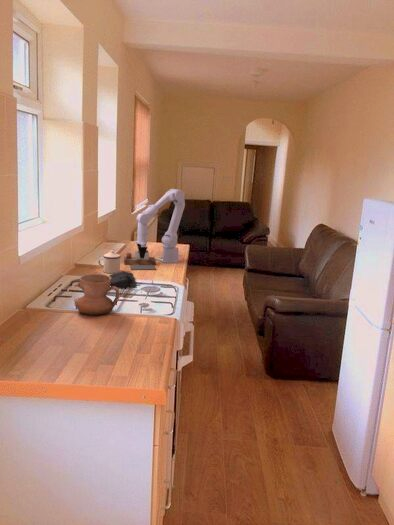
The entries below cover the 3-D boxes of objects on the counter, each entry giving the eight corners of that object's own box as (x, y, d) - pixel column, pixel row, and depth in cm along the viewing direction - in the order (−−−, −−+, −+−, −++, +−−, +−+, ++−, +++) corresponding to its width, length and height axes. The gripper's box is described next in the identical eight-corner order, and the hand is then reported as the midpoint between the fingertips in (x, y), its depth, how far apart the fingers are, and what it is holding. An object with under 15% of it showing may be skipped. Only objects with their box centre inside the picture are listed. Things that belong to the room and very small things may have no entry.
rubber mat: (154, 266, 261) (154, 265, 260) (156, 270, 252) (156, 269, 252) (130, 266, 258) (130, 265, 258) (131, 269, 249) (131, 268, 249)
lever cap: (147, 257, 268) (148, 249, 267) (148, 259, 264) (149, 251, 263) (134, 257, 267) (134, 249, 266) (135, 259, 262) (135, 251, 261)
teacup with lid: (122, 270, 247) (122, 249, 244) (118, 274, 238) (118, 252, 235) (100, 268, 248) (100, 248, 245) (95, 272, 239) (96, 251, 236)
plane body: (154, 262, 271) (154, 252, 270) (155, 265, 264) (156, 255, 262) (123, 261, 268) (124, 251, 266) (124, 264, 260) (124, 254, 259)
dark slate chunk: (137, 277, 236) (137, 268, 235) (136, 289, 214) (136, 279, 213) (107, 276, 234) (107, 267, 233) (103, 288, 213) (103, 278, 212)
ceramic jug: (67, 316, 172) (68, 280, 169) (79, 304, 187) (80, 271, 183) (114, 320, 172) (115, 284, 169) (122, 308, 186) (123, 275, 183)
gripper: (134, 231, 268) (133, 254, 271) (136, 236, 254) (135, 259, 257) (146, 232, 270) (145, 254, 272) (148, 236, 256) (147, 259, 259)
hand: (141, 256), depth 265 cm, fingers open, 7 cm apart
